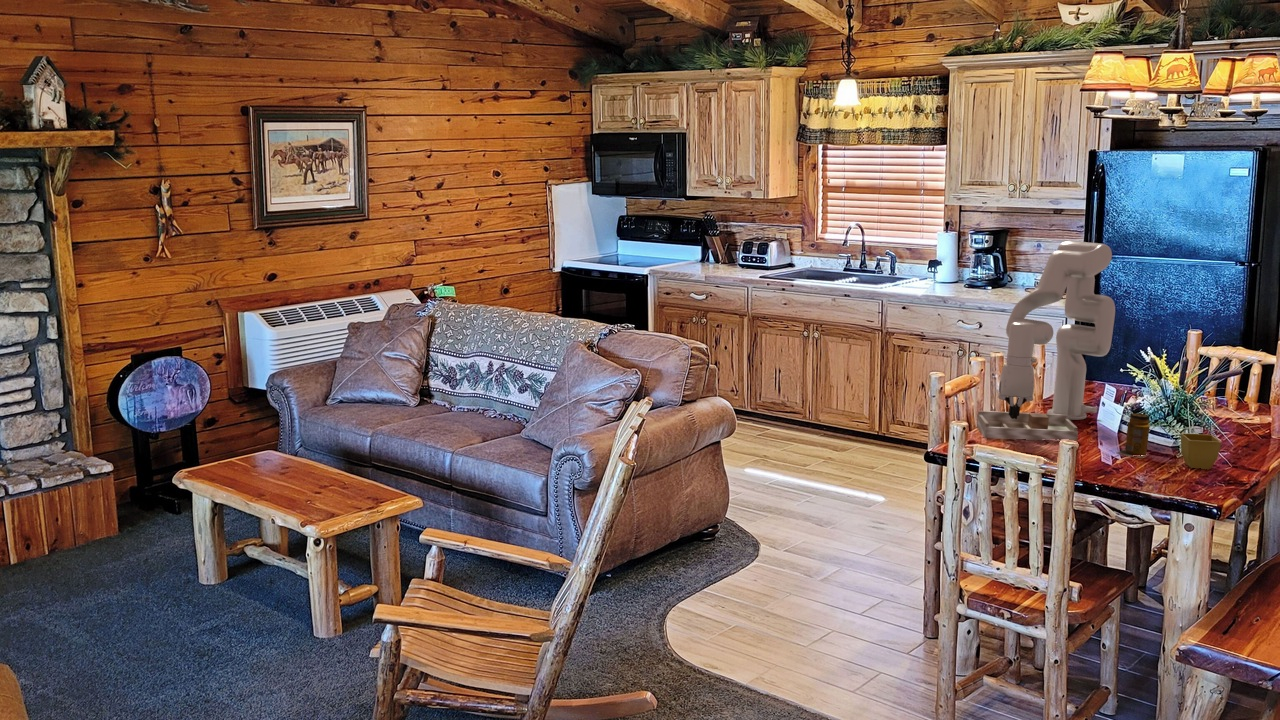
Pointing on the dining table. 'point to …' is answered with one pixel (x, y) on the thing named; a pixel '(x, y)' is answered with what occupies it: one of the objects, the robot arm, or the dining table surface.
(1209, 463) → the flower pot
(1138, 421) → the condiment
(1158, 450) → the dining table surface
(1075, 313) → the robot arm
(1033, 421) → the walnut block
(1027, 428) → the compartment box
